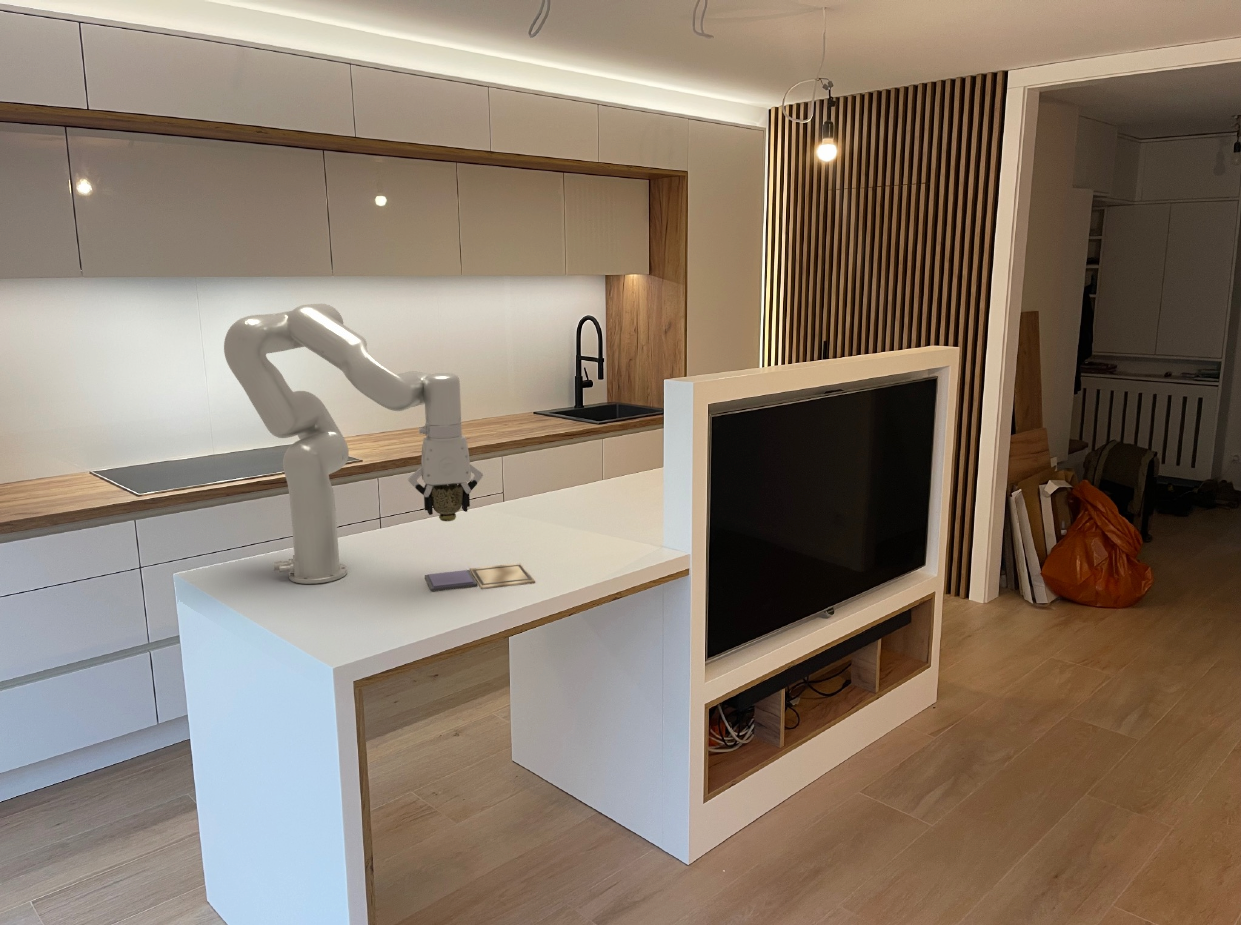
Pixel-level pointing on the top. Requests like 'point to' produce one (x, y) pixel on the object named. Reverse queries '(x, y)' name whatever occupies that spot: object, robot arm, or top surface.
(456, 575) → the ink pad
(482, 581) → the board
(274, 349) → the robot arm
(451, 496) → the cup
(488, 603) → the top surface
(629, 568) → the top surface
